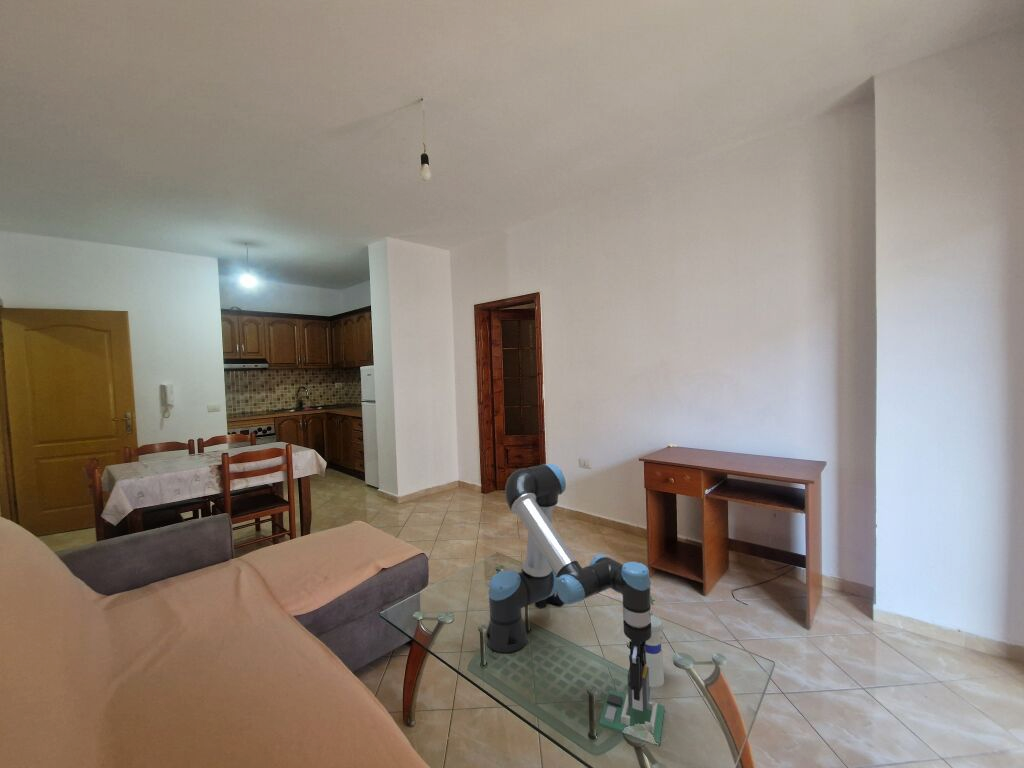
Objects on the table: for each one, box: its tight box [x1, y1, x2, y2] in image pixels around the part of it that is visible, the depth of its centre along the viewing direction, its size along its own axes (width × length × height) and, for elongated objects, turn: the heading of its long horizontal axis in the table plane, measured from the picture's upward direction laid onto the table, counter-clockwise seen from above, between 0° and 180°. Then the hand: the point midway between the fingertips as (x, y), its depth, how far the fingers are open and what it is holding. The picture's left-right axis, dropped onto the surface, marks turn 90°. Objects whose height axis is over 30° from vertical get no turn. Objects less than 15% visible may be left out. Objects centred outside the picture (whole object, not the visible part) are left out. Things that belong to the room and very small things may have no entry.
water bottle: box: [645, 595, 665, 688], centre depth 133 cm, size 8×9×25 cm
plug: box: [627, 666, 650, 711], centre depth 118 cm, size 5×5×9 cm
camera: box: [534, 576, 565, 609], centre depth 179 cm, size 16×10×10 cm, turn 143°
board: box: [598, 689, 665, 745], centre depth 119 cm, size 16×13×3 cm
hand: (639, 700), depth 118 cm, fingers closed on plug, 5 cm apart
